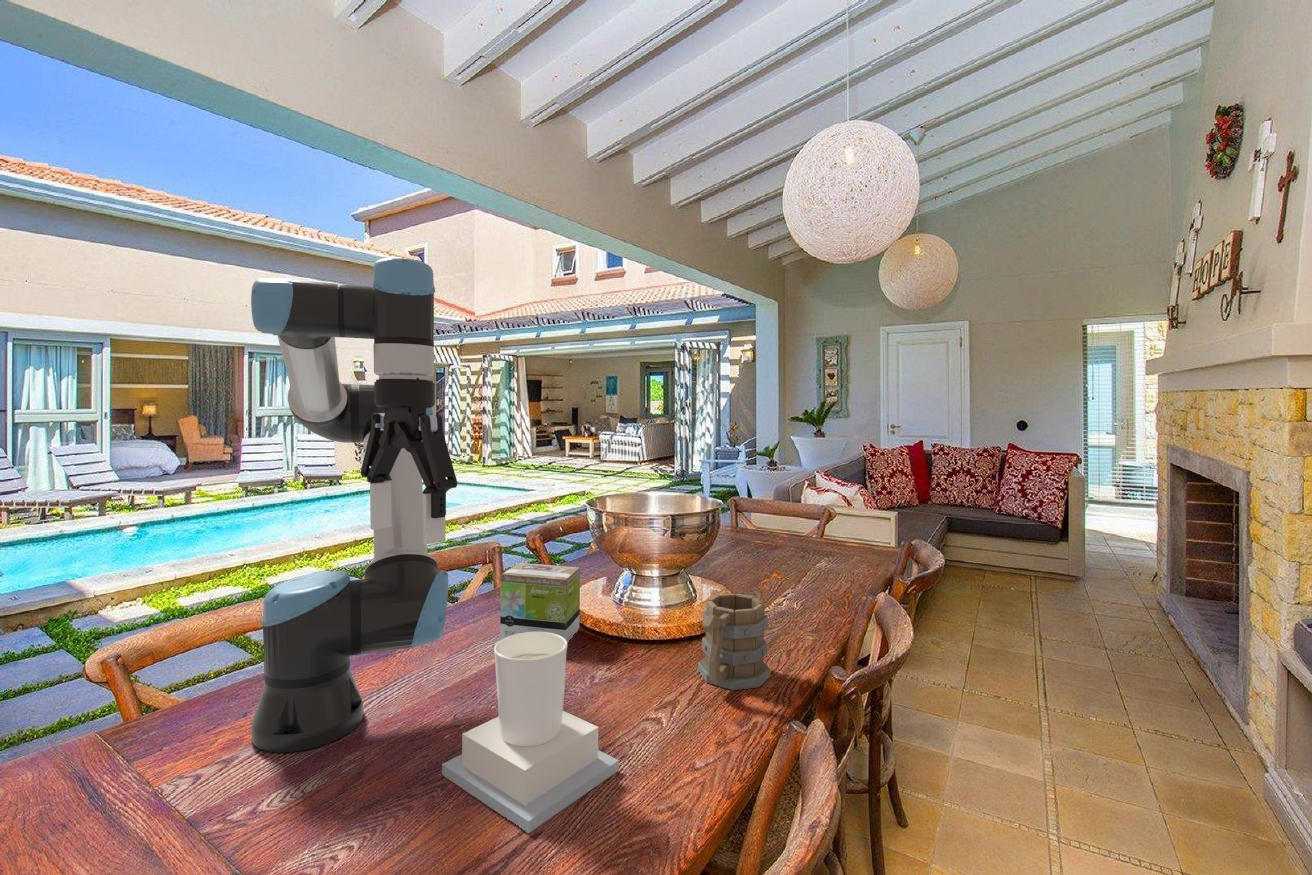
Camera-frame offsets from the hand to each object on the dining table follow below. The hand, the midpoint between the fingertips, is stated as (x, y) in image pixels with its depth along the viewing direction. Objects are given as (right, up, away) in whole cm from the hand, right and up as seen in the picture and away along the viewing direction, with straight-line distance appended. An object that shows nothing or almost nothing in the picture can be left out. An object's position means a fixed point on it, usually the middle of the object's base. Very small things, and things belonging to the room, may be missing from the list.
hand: (406, 535), depth 83 cm
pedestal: (+17, -33, +1) cm, 37 cm away
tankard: (+47, -32, +30) cm, 64 cm away
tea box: (+9, -30, +51) cm, 60 cm away
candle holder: (+17, -27, +1) cm, 32 cm away
